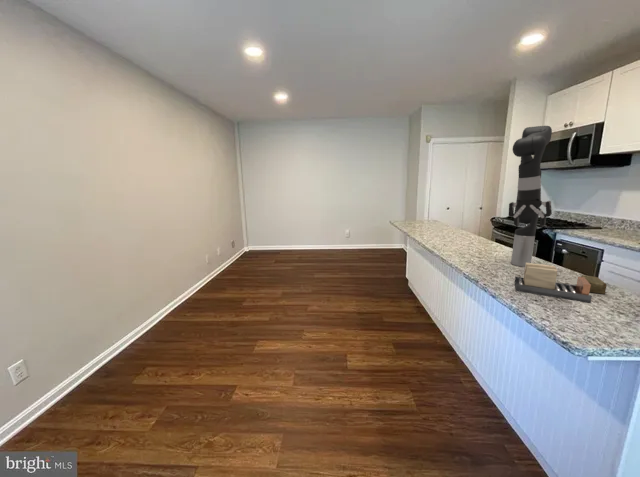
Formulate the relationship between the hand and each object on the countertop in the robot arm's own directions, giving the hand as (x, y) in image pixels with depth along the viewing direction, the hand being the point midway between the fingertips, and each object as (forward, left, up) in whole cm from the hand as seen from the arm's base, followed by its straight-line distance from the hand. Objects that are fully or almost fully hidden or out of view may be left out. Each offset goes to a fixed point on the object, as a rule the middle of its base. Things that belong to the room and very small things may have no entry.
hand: (529, 226), depth 116 cm
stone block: (-15, +26, -29) cm, 42 cm away
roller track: (-2, +10, -28) cm, 30 cm away
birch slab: (-2, +6, -26) cm, 26 cm away
